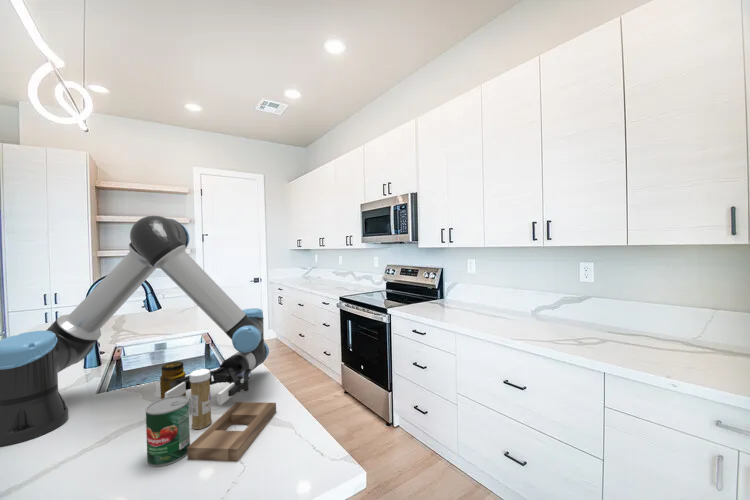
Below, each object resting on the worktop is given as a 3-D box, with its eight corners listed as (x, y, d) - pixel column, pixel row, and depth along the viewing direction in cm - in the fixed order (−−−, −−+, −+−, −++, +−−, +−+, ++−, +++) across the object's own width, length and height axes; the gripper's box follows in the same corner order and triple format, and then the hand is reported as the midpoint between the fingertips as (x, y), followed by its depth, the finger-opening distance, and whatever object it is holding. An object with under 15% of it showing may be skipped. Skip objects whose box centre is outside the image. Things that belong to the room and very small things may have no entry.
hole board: (187, 459, 68) (187, 447, 68) (237, 411, 88) (236, 401, 88) (237, 461, 67) (237, 449, 67) (276, 411, 87) (275, 402, 87)
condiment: (190, 399, 96) (188, 358, 96) (184, 412, 89) (182, 368, 88) (161, 403, 94) (159, 362, 94) (152, 418, 86) (151, 373, 86)
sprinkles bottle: (213, 425, 81) (211, 372, 81) (192, 432, 79) (190, 376, 79) (210, 418, 85) (208, 366, 85) (190, 423, 83) (188, 370, 82)
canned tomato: (142, 471, 65) (140, 416, 65) (151, 449, 72) (150, 400, 72) (188, 460, 68) (186, 407, 68) (192, 440, 76) (190, 392, 75)
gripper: (277, 379, 99) (242, 415, 78) (199, 378, 101) (145, 413, 80) (276, 354, 99) (241, 384, 77) (198, 354, 101) (144, 383, 80)
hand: (192, 399), depth 79 cm, fingers open, 13 cm apart
